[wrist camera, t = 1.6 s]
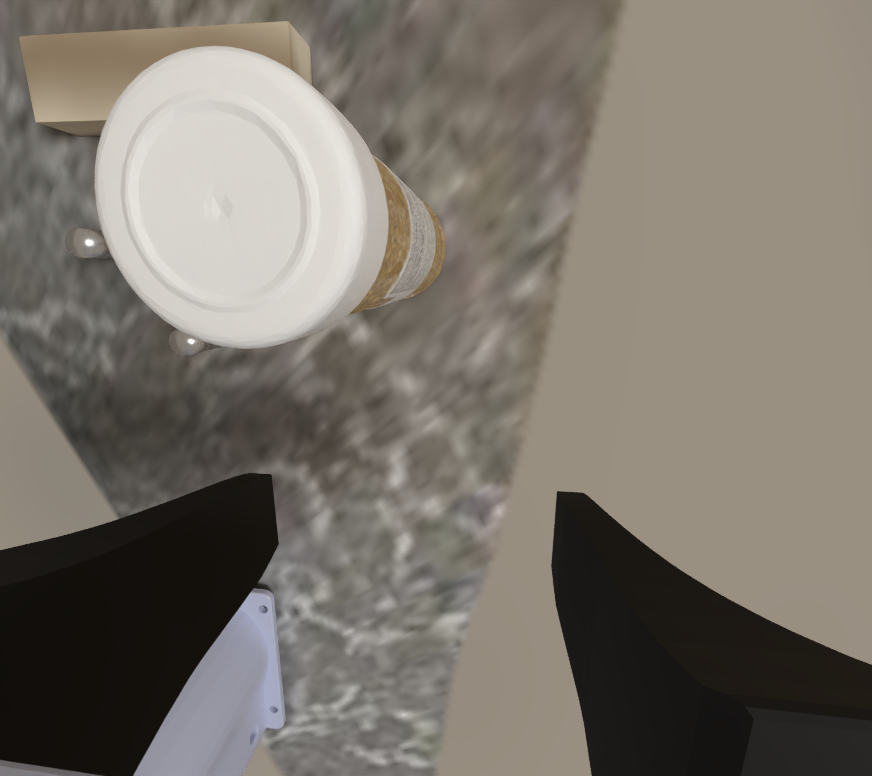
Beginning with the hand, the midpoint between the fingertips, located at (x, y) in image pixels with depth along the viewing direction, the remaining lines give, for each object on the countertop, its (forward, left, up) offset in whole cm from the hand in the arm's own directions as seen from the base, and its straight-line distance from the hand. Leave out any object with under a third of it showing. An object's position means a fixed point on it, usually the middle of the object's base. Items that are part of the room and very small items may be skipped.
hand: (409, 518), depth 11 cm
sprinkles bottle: (+7, +2, -11) cm, 13 cm away
